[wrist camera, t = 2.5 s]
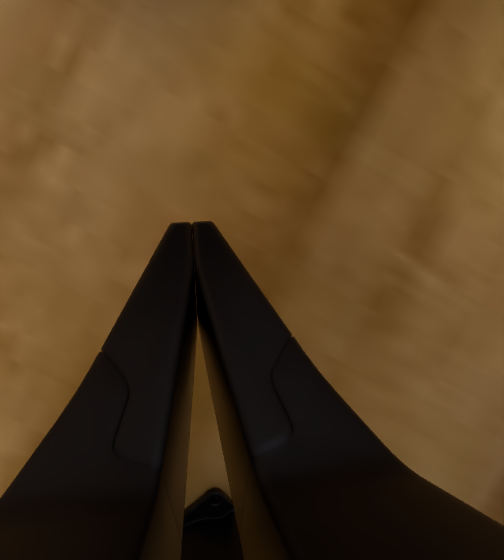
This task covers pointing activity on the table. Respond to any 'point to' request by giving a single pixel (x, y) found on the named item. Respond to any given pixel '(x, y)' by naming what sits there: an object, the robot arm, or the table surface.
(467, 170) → the table surface
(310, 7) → the table surface
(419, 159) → the table surface
